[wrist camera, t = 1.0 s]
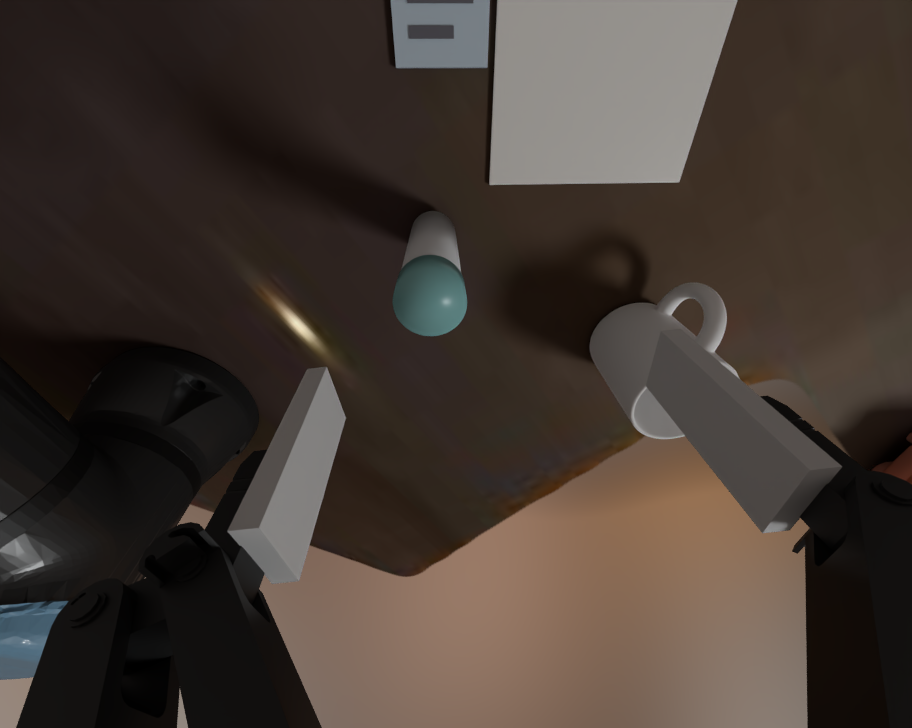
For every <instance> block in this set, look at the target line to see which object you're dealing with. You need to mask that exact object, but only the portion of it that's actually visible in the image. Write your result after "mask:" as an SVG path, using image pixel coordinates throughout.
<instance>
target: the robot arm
mask: <svg viewBox="0 0 912 728" xmlns="http://www.w3.org/2000/svg"><path fill="white" fill-rule="evenodd" d="M646 387H647V388H648V390H649V391H650V392H651V393H652V395H653V396H654V397H655V398H656V400H657V401H658V402H659V403H660V405H661V406H662V407H663V409H664V410H665V411H666V412H667V414H668V415H669V416H670V417H671V419H672V420H673V421H674V422H675V424H676V425H677V426H678V427H679V429H680V430H681V431H682V432H683V434H684V435H685V436H686V437H687V439H688V440H689V441H690V442H691V444H692V445H693V446H694V447H695V449H696V450H697V451H698V452H699V454H700V455H701V456H702V458H703V459H704V460H705V461H706V463H707V464H708V465H709V466H710V468H711V469H712V470H713V471H714V473H715V474H716V475H717V477H718V478H719V479H720V480H721V481H722V483H723V484H724V485H725V486H726V488H727V489H728V490H729V492H730V493H731V494H732V495H733V497H734V498H735V499H736V500H737V502H738V503H739V504H740V505H741V507H742V508H743V509H744V511H745V512H746V513H747V514H748V516H749V517H750V518H751V519H752V521H753V522H754V523H755V524H756V526H757V527H758V528H759V529H760V531H761V532H762V533H768V532H778V531H786V530H790V529H791V528H792V527H793V526H794V524H795V523H796V522H797V521H798V520H799V518H801V519H802V520H803V521H804V522H805V523H806V524H807V525H808V526H809V527H810V528H809V530H808V531H807V532H806V533H805V534H804V535H803V536H802V537H801V539H800V540H799V541H798V542H797V543H796V544H795V545H794V548H793V552H795V553H798V552H799V551H800V550H801V549H802V548H803V547H805V566H806V567H805V569H806V570H805V571H806V637H807V638H806V639H807V707H808V708H807V709H808V710H807V712H808V728H912V484H910V483H909V482H907V481H905V480H903V479H900V478H898V477H895V476H893V475H890V474H887V473H882V472H878V471H867V470H866V469H864V468H863V467H862V466H860V465H859V464H858V463H857V462H856V461H854V460H853V459H852V458H851V457H849V456H848V455H847V454H846V453H844V452H843V451H842V450H841V449H840V448H838V447H837V446H836V445H834V444H833V443H832V442H831V441H830V440H828V439H827V438H826V437H825V436H824V435H822V434H821V433H820V432H819V431H815V430H814V427H812V426H811V425H810V424H809V423H807V422H806V421H805V420H804V421H803V420H802V418H801V417H800V416H799V415H798V414H796V413H795V412H794V411H793V410H792V409H790V408H789V407H788V406H787V405H784V404H783V403H781V402H779V401H777V400H775V399H773V398H771V397H769V396H759V395H758V394H756V393H755V392H754V391H753V390H752V389H751V388H749V387H748V386H747V385H746V384H745V383H744V382H742V381H741V380H740V379H739V378H738V377H737V376H735V375H734V374H733V373H732V372H731V371H729V370H728V369H727V368H726V367H725V366H724V365H722V364H721V363H720V362H719V361H718V360H717V359H715V358H714V357H713V356H712V355H711V354H710V353H708V352H707V351H706V350H705V349H704V348H702V347H701V346H700V345H699V344H698V343H697V342H695V341H694V340H693V339H692V338H691V337H690V336H688V335H687V334H686V333H685V332H684V331H683V330H681V329H673V330H664V331H661V332H660V336H659V339H658V343H657V346H656V350H655V354H654V357H653V361H652V364H651V368H650V372H649V375H648V379H647V383H646ZM345 419H346V417H345V415H344V412H343V409H342V407H341V404H340V401H339V399H338V396H337V393H336V391H335V388H334V385H333V382H332V380H331V377H330V374H329V372H328V369H327V367H322V368H312V369H307V371H306V373H305V375H304V377H303V379H302V381H301V383H300V385H299V387H298V389H297V391H296V393H295V395H294V397H293V399H292V401H291V403H290V405H289V407H288V409H287V411H286V413H285V415H284V417H283V419H282V421H281V423H280V425H279V427H278V429H277V431H276V433H275V436H274V438H273V440H272V442H271V444H270V446H269V448H268V450H261V451H254V452H253V453H252V454H251V455H250V456H249V457H248V458H247V459H246V460H245V461H244V462H243V463H242V464H241V465H240V467H239V468H238V470H237V472H236V474H235V476H234V478H233V482H231V483H230V485H229V487H228V488H227V490H226V494H224V496H223V498H222V499H221V501H220V503H219V505H218V507H217V508H216V510H215V512H214V514H213V516H212V518H211V519H210V521H209V523H208V525H207V527H206V528H205V530H204V529H203V528H202V527H201V526H200V524H197V523H192V522H190V523H185V524H180V525H178V526H177V524H178V523H179V521H180V520H181V518H182V516H183V515H184V513H185V511H186V510H187V508H188V507H189V505H190V503H191V501H192V500H193V498H194V497H195V495H196V494H197V492H198V491H199V489H200V488H201V486H202V485H203V484H204V483H205V482H206V481H208V480H209V479H210V478H211V477H212V476H214V475H215V474H216V473H217V472H218V471H219V470H220V469H221V468H222V467H223V466H224V465H225V464H226V463H227V462H228V461H231V460H232V459H234V458H235V457H237V456H238V455H239V454H240V453H241V452H242V451H243V450H244V449H245V448H246V447H247V445H248V444H249V442H250V440H251V438H252V437H253V435H254V433H255V432H256V429H257V427H258V422H259V414H258V409H257V406H256V403H255V401H254V399H253V398H252V396H251V394H250V393H249V391H248V390H247V389H246V388H245V387H244V385H243V384H242V383H241V382H240V381H239V380H238V379H236V378H235V377H234V376H233V375H232V374H230V373H229V372H228V371H226V370H225V369H223V368H222V367H220V366H218V365H217V364H215V363H213V362H211V361H209V360H207V359H205V358H202V357H200V356H197V355H195V354H192V353H189V352H185V351H181V350H177V349H171V348H164V347H145V348H138V349H133V350H130V351H127V352H125V353H123V354H121V355H119V356H118V357H116V358H115V359H114V360H112V361H111V362H110V363H108V364H107V365H106V366H104V367H103V368H102V369H101V370H100V371H99V372H98V373H97V374H96V375H95V376H94V377H93V379H92V381H91V383H90V385H89V387H88V391H87V393H86V394H85V396H84V397H83V399H82V400H81V402H80V404H79V405H78V407H77V408H76V410H75V412H74V413H73V415H72V417H71V419H70V420H69V421H67V420H66V419H65V418H64V417H63V416H62V415H61V414H60V413H59V412H58V411H57V410H55V409H54V408H53V407H52V406H51V405H50V404H49V403H48V402H47V401H46V400H45V399H44V398H43V397H41V396H40V395H39V394H38V393H37V392H36V391H35V390H34V389H33V388H32V387H31V386H30V385H29V384H28V383H27V382H26V381H25V380H24V379H23V378H22V377H21V376H20V375H19V374H17V373H16V372H15V371H14V370H13V369H12V368H11V367H10V366H9V365H8V364H7V363H6V362H5V361H4V360H3V359H2V358H1V357H0V680H3V679H20V678H30V677H34V678H33V681H32V684H31V686H30V690H29V692H28V695H27V698H26V701H25V704H24V707H23V710H22V713H21V715H20V718H19V721H18V724H17V727H16V728H177V717H178V703H179V689H180V690H181V694H182V699H183V704H184V709H185V714H186V719H187V724H188V728H322V727H321V725H320V723H319V721H318V718H317V716H316V714H315V711H314V709H313V707H312V705H311V702H310V700H309V698H308V695H307V693H306V691H305V689H304V686H303V684H302V682H301V679H300V677H299V675H298V673H297V670H296V668H295V666H294V664H293V661H292V659H291V657H290V655H289V652H288V650H287V648H286V646H285V643H284V641H283V639H282V636H281V634H280V632H279V629H278V627H277V625H276V623H275V620H274V618H273V616H272V614H271V611H270V609H269V607H268V605H267V603H266V600H265V598H264V595H263V593H262V592H261V591H260V590H259V587H260V584H261V581H262V579H263V576H264V575H265V576H266V577H267V578H268V579H269V581H270V582H271V583H272V584H276V583H285V582H295V581H299V580H300V576H301V573H302V569H303V565H304V562H305V558H306V555H307V552H308V548H309V545H310V541H311V538H312V534H313V531H314V527H315V524H316V520H317V517H318V513H319V510H320V506H321V503H322V499H323V496H324V492H325V489H326V485H327V482H328V478H329V475H330V471H331V468H332V464H333V461H334V457H335V454H336V450H337V447H338V443H339V440H340V436H341V433H342V429H343V426H344V422H345ZM145 577H146V578H145ZM144 578H145V579H144Z"/></svg>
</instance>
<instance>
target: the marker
mask: <svg viewBox="0 0 912 728" xmlns="http://www.w3.org/2000/svg"><path fill="white" fill-rule="evenodd" d="M393 308H394V312H395V314H396V316H397V318H398V320H399V321H400V322H401V323H402V324H403V325H404V326H405V327H406V328H407V329H409V330H410V331H412V332H414V333H417V334H420V335H424V336H438V335H442V334H445V333H447V332H449V331H451V330H453V329H454V328H455V327H456V326H457V325H458V324H459V323H460V322H461V321H462V319H463V317H464V315H465V313H466V309H467V296H466V290H465V283H464V279H463V276H462V274H461V268H460V261H459V254H458V247H457V240H456V233H455V228H454V225H453V223H452V221H451V220H450V219H449V218H448V217H447V216H446V215H445V214H443V213H441V212H437V211H428V212H425V213H423V214H421V215H420V216H418V217H417V218H416V220H415V221H414V223H413V225H412V229H411V233H410V237H409V241H408V245H407V249H406V253H405V258H404V262H403V266H402V270H401V271H400V273H399V276H398V279H397V283H396V287H395V291H394V295H393Z"/></svg>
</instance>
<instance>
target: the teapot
mask: <svg viewBox="0 0 912 728" xmlns="http://www.w3.org/2000/svg"><path fill="white" fill-rule="evenodd" d="M906 439H907V441H909V442H910V443H912V432H911V433H910V434H909V435H908V436H907V438H906ZM872 471H878V472H882V473H887V474H890V475H893V476H895V477H898V478H900V479H903V480H905V481H907V482H909V483H910V484H912V445H911V446H909V447H908V448H907V449H906V450H905V451H904V452H903V453H902V454H901V455H900V456H898V457H897V458H896V459H895V460H894V461H893V462H892V461H888V462H884V463H881V464H879V465H877V466H876V467H874V468H873V469H872Z"/></svg>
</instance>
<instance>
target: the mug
mask: <svg viewBox="0 0 912 728" xmlns="http://www.w3.org/2000/svg"><path fill="white" fill-rule="evenodd" d="M688 298H692V299H695V300H697V301H698V302H699V303H700V304H701V306H702V308H703V312H704V322H703V326H702V328H701V330H700V332H699V334H698V336H697V337H696V336H695V335H694V334H693V333H692V332H691V331H689V330H688V329H687V328H686V327H685V326H683V325H682V324H681V323H680V322H679V321H677V320H676V319H675V318H674V317H673V316H672V313H673V311H674V310H675V309H676V307H677V306H678V305H679V304H680V303H681V302H682V301H684V300H685V299H688ZM726 322H727V315H726V309H725V305H724V303H723V301H722V299H721V297H720V296H719V294H718V293H717V292H716V291H715V290H713V289H712V288H711V287H709V286H707V285H705V284H701V283H685V284H682V285H680V286H677V287H675V288H674V289H672V290H671V291H670V292H668V293H667V294H666V295H665V296H664V297H663V298H662V300H661V301H660V302H659V303H658V305H654V304H651V303H632V304H628V305H625V306H622V307H619V308H618V309H616V310H614V311H612V312H611V313H609V314H608V315H607V316H605V317H604V318H603V319H602V320H601V321H600V322H599V324H598V325H597V326H596V328H595V329H594V331H593V333H592V336H591V339H590V347H589V348H590V354H591V357H592V360H593V362H594V364H595V365H596V367H597V369H598V370H599V372H600V373H601V375H602V377H603V378H604V380H605V381H606V383H607V385H608V386H609V388H610V389H611V391H612V393H613V394H614V396H615V397H616V399H617V401H618V402H619V404H620V405H621V407H622V408H623V410H624V412H625V413H626V415H627V416H628V418H629V420H630V421H631V423H632V424H633V426H634V427H635V429H636V430H638V431H639V432H640V433H642V434H644V435H646V436H648V437H652V438H657V439H673V438H679V437H683V436H685V435H684V434H683V432H682V431H681V430H680V429H679V427H678V426H677V425H676V424H675V422H674V421H673V420H672V419H671V417H670V416H669V415H668V414H667V412H666V411H665V410H664V409H663V407H662V406H661V405H660V403H659V402H658V401H657V400H656V398H655V397H654V396H653V395H652V393H651V392H650V391H649V390H648V388H647V387H646V383H647V379H648V375H649V372H650V368H651V364H652V361H653V357H654V354H655V350H656V346H657V343H658V339H659V336H660V332H661V331H664V330H673V329H681V330H683V331H684V332H685V333H686V334H687V335H688V336H690V337H691V338H692V339H693V340H694V341H695V342H697V343H698V344H699V345H700V346H701V347H702V348H704V349H705V350H706V351H707V352H708V353H710V354H711V355H712V356H713V357H714V358H715V359H717V360H718V361H719V362H720V363H721V364H722V365H724V366H725V367H726V368H727V369H728V370H729V371H731V372H732V373H733V374H734V375H735V376H737V377H738V374H737V372H736V371H735V370H734V368H733V367H731V366H730V365H729V364H728V363H726V362H725V361H724V360H723V359H722V358H721V357H719V356H718V355H717V354H716V353H715V352H714V351H715V350H716V349H717V347H718V345H719V344H720V342H721V340H722V338H723V335H724V332H725V328H726ZM738 378H739V377H738Z"/></svg>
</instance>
